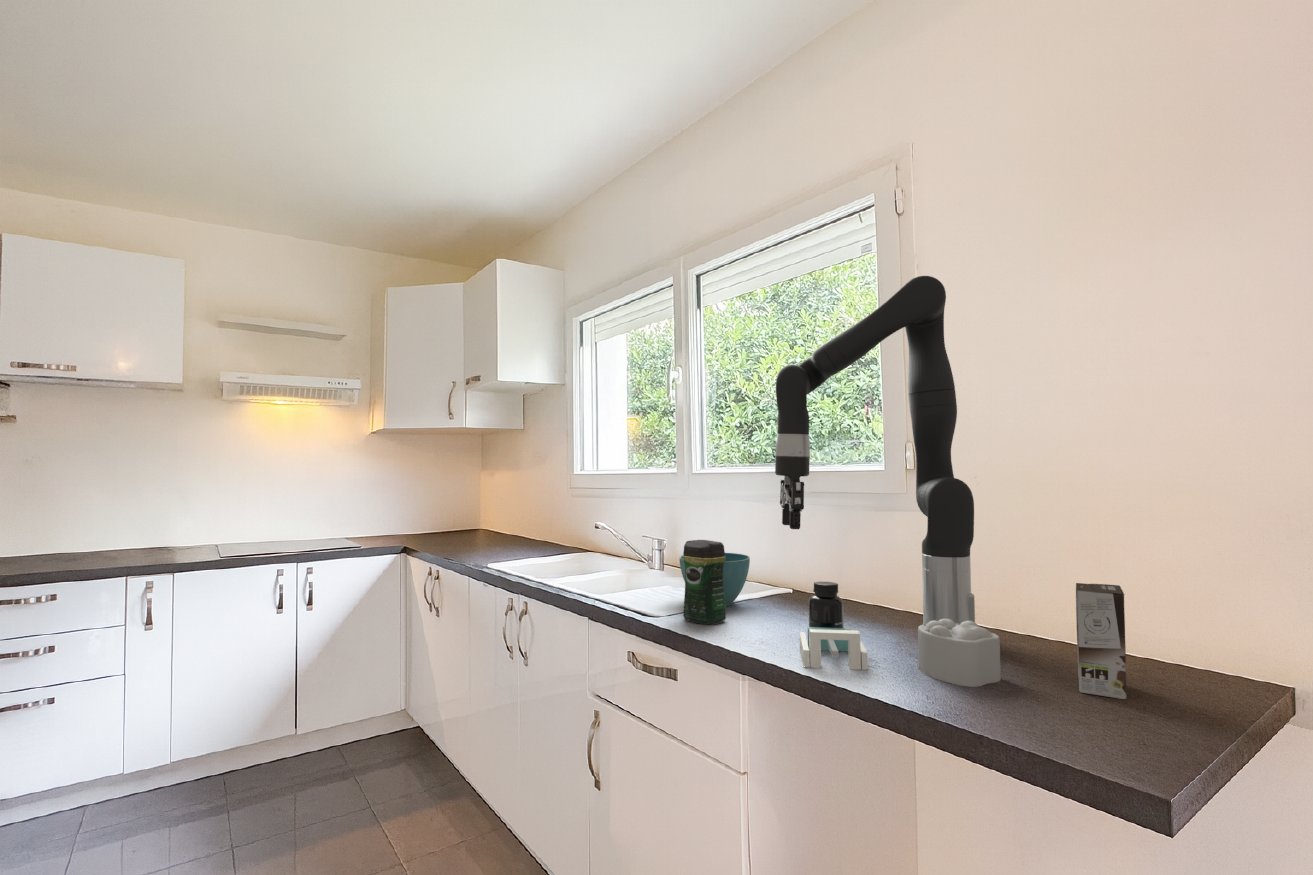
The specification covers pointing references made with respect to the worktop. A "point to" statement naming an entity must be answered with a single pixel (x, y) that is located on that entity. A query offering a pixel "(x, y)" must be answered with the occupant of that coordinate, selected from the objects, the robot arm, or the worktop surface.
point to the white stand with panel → (855, 646)
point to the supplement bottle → (825, 606)
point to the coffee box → (1101, 640)
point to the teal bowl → (730, 574)
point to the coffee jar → (704, 581)
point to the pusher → (832, 642)
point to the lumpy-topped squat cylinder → (959, 653)
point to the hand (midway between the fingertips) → (790, 526)
